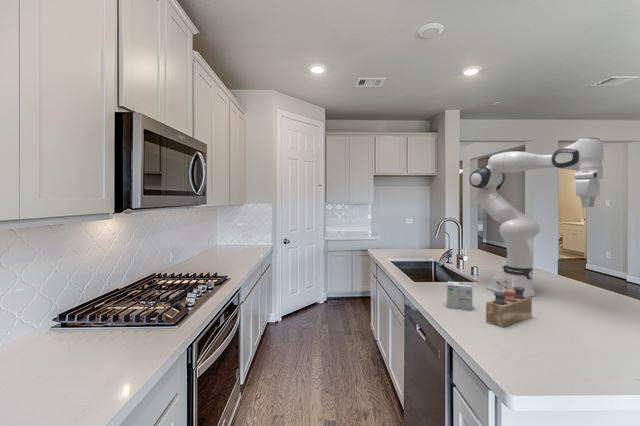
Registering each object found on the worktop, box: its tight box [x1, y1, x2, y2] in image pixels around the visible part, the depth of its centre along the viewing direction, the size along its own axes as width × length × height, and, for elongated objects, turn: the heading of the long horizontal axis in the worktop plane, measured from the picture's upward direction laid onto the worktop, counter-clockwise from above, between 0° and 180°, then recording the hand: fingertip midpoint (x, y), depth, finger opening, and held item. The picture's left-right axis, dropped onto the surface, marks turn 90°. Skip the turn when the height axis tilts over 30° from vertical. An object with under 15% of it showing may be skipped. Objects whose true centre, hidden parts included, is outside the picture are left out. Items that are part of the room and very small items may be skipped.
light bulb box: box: [446, 281, 473, 311], centre depth 148 cm, size 11×7×11 cm, turn 65°
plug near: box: [493, 291, 506, 305], centre depth 128 cm, size 4×4×8 cm
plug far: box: [513, 287, 524, 300], centre depth 135 cm, size 4×4×8 cm
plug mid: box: [504, 289, 515, 302], centre depth 132 cm, size 4×4×8 cm
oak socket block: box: [485, 296, 533, 328], centre depth 132 cm, size 7×21×8 cm, turn 121°
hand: (587, 207), depth 140 cm, fingers open, 8 cm apart
